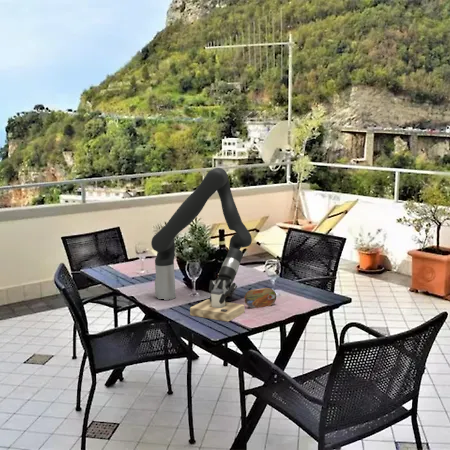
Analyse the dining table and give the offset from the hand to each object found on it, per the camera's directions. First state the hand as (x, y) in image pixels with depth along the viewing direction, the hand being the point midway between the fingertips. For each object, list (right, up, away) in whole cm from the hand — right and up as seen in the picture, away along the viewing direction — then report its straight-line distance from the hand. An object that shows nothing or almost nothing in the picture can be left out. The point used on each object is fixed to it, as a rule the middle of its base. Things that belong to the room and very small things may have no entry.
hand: (215, 302), depth 250 cm
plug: (+1, -4, +2) cm, 5 cm away
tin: (+20, -4, +10) cm, 23 cm away
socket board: (+1, -6, +2) cm, 6 cm away
